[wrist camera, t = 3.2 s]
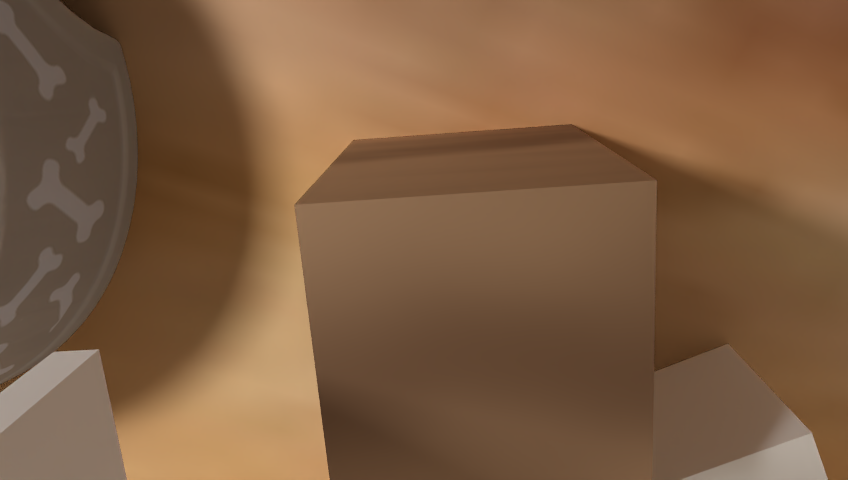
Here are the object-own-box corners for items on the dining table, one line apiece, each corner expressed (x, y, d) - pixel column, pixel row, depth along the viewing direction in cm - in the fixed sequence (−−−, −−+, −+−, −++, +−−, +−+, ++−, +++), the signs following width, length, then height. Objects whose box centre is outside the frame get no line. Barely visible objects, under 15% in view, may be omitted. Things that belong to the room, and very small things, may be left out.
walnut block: (353, 140, 19) (294, 204, 12) (571, 124, 19) (657, 180, 11) (374, 339, 21) (333, 510, 13) (574, 327, 21) (652, 495, 13)
